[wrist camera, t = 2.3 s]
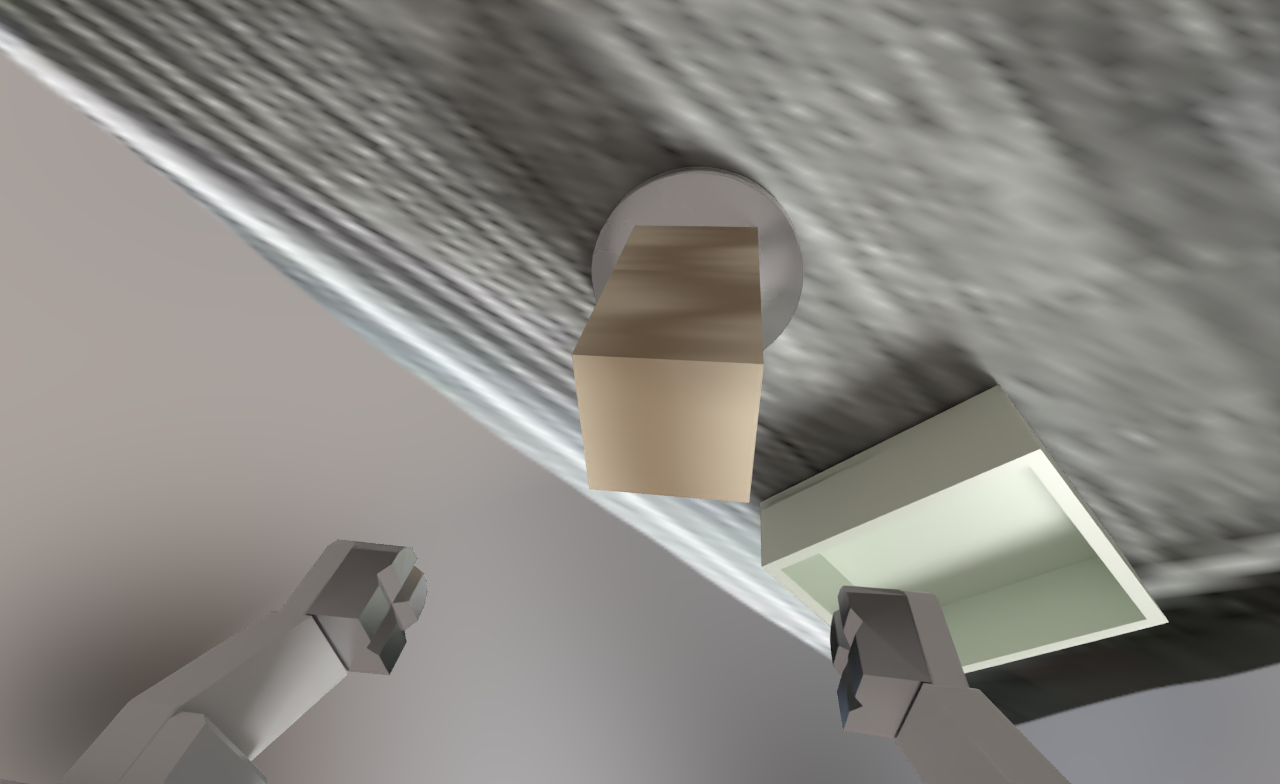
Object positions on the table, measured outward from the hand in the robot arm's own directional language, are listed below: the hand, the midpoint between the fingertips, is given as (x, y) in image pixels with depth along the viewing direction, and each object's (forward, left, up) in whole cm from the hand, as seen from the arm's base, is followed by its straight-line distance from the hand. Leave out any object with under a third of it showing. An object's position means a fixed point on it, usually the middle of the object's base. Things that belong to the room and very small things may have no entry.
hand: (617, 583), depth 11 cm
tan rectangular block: (0, 0, -13) cm, 13 cm away
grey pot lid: (0, 0, -14) cm, 14 cm away
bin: (-12, +13, -14) cm, 23 cm away
